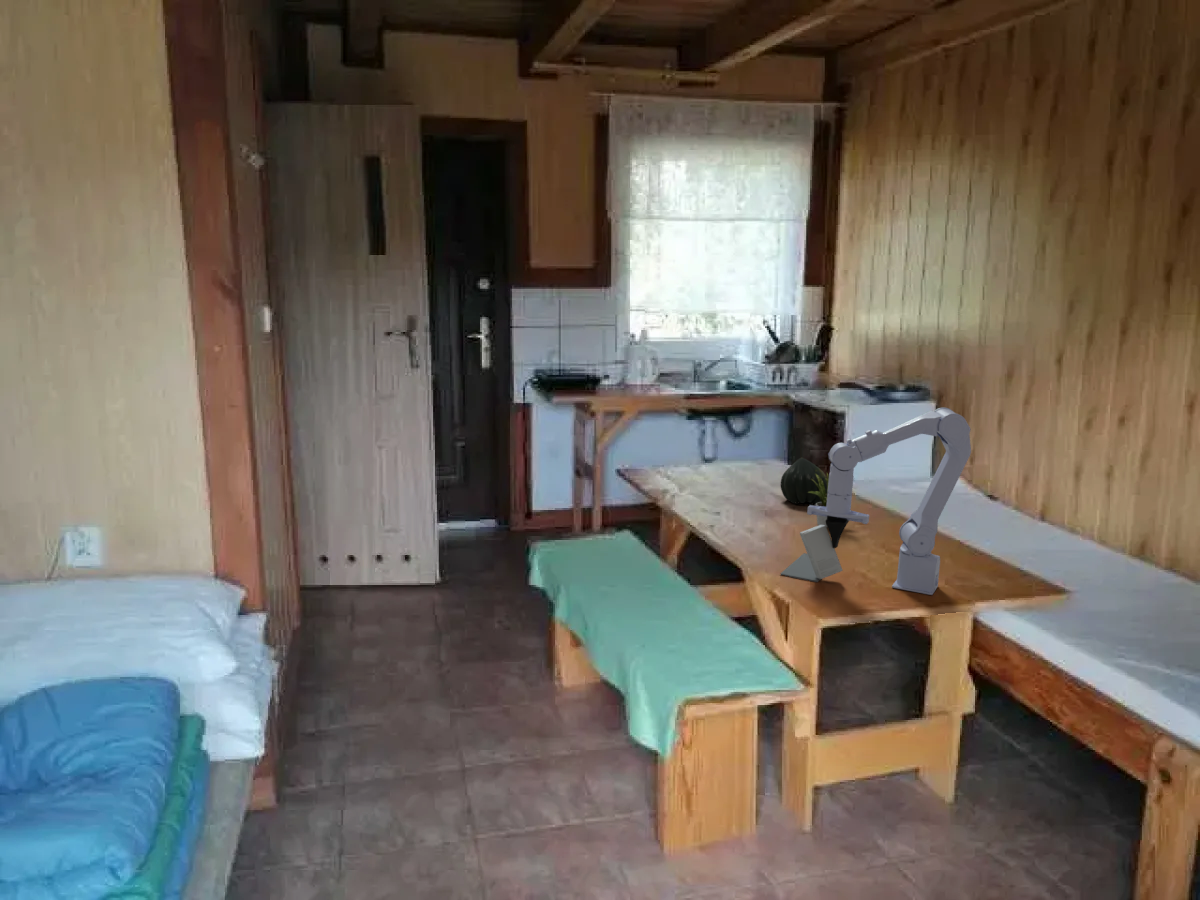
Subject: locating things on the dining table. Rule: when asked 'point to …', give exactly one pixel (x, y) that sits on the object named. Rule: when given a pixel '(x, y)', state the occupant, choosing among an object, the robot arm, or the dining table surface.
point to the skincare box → (821, 551)
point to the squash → (802, 482)
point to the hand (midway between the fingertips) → (834, 547)
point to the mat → (801, 569)
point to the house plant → (823, 496)
